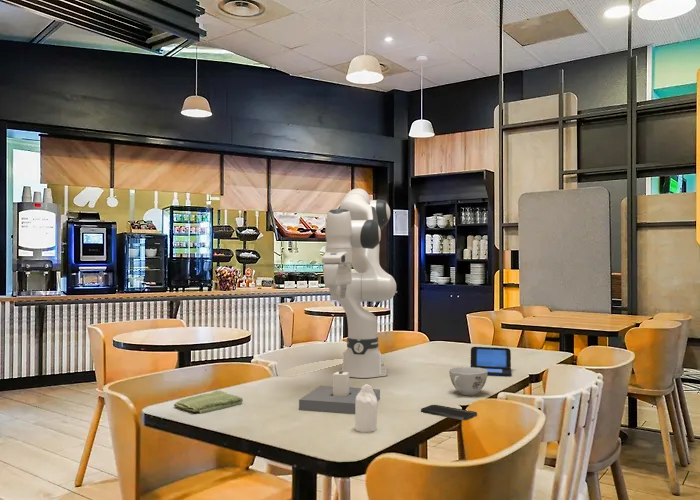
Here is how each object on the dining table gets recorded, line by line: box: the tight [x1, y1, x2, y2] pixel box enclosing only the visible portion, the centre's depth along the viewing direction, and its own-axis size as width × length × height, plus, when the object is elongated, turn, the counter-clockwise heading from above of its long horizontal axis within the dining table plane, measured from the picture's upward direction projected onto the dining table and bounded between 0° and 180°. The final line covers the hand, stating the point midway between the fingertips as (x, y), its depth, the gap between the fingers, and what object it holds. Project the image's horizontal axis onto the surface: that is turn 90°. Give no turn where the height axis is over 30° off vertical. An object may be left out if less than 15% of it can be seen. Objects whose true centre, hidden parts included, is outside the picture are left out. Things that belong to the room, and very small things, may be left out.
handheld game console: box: [469, 346, 512, 378], centre depth 236 cm, size 16×13×9 cm
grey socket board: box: [298, 385, 381, 415], centre depth 185 cm, size 20×20×3 cm
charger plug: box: [332, 371, 350, 397], centre depth 185 cm, size 4×4×10 cm
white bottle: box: [354, 383, 378, 433], centre depth 159 cm, size 6×12×6 cm
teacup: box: [448, 366, 488, 396], centre depth 199 cm, size 15×12×8 cm
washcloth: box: [173, 390, 244, 415], centre depth 183 cm, size 13×18×3 cm
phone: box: [420, 404, 478, 421], centre depth 175 cm, size 8×1×15 cm
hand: (338, 299), depth 200 cm, fingers open, 8 cm apart
